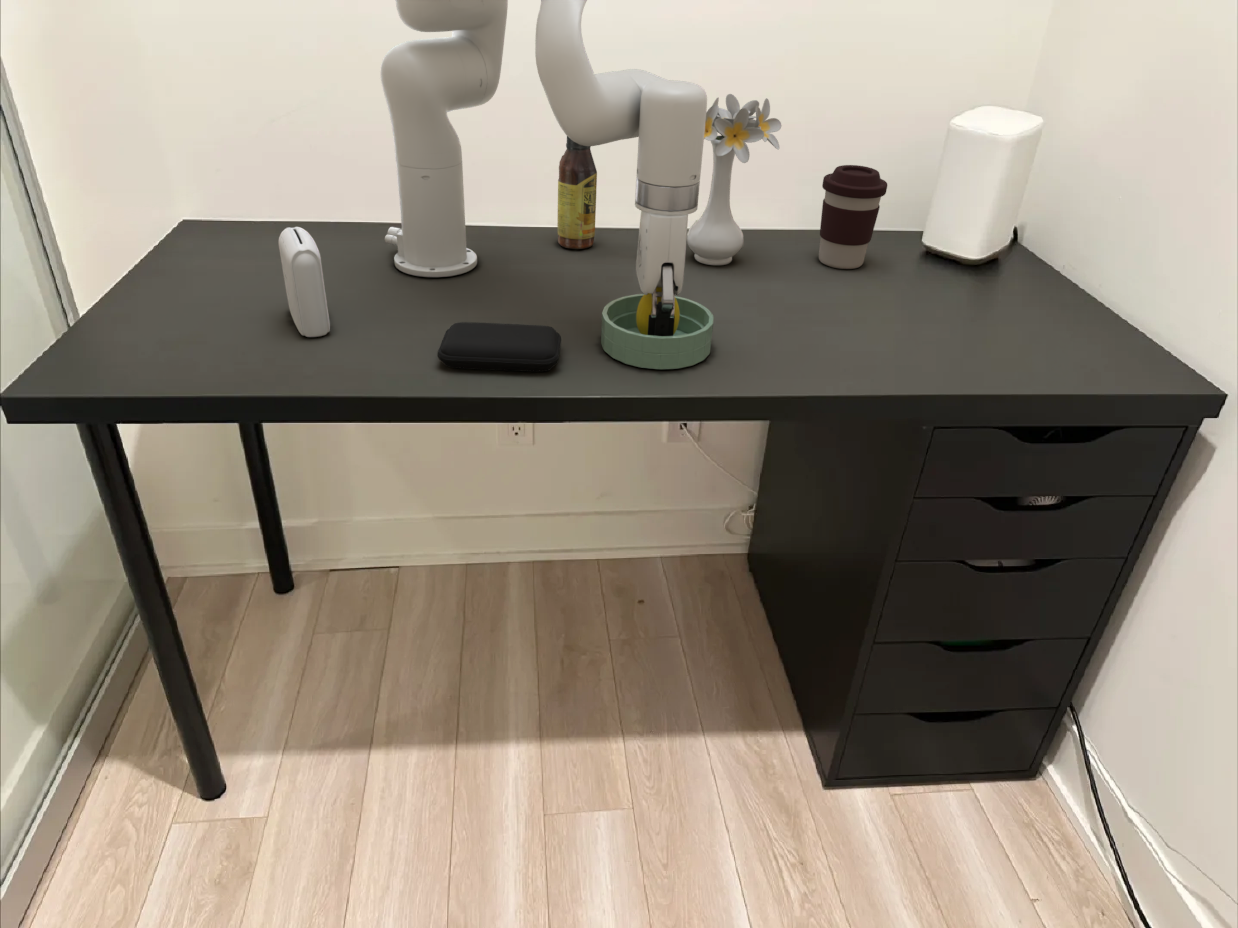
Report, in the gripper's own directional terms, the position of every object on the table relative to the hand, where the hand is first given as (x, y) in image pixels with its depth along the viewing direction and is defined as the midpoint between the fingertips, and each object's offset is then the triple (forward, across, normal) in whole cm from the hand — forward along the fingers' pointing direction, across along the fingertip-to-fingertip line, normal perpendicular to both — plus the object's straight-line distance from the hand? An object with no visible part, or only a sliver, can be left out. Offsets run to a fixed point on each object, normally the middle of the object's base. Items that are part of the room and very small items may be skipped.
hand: (656, 333), depth 115 cm
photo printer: (+2, -6, -45) cm, 46 cm away
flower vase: (+2, -33, +13) cm, 36 cm away
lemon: (+2, 0, 0) cm, 2 cm away
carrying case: (+2, +3, -20) cm, 20 cm away
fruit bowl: (+2, 0, 0) cm, 2 cm away
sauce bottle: (+2, -40, -9) cm, 41 cm away
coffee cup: (+2, -33, +35) cm, 48 cm away
